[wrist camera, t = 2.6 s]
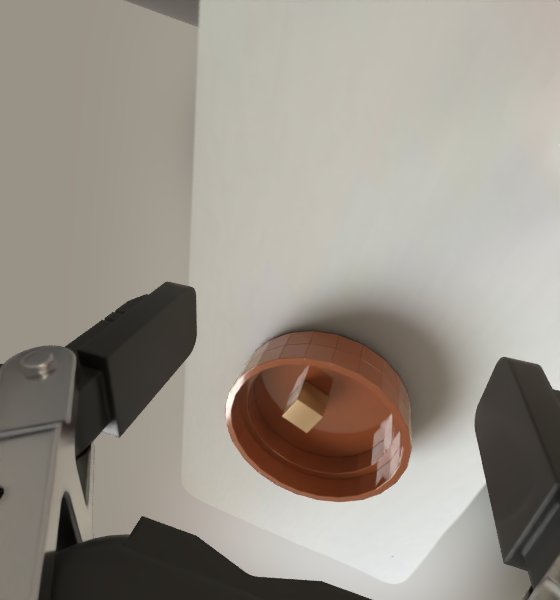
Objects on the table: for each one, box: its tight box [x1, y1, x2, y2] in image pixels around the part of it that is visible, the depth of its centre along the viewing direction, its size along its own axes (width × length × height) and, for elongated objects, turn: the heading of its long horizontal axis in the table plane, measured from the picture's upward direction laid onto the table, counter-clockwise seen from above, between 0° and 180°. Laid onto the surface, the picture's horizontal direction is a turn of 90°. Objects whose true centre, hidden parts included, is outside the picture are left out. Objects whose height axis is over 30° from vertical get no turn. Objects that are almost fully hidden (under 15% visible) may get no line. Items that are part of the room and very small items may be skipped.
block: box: [282, 380, 329, 433], centre depth 38 cm, size 3×3×3 cm
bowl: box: [225, 331, 412, 502], centre depth 38 cm, size 17×17×5 cm
